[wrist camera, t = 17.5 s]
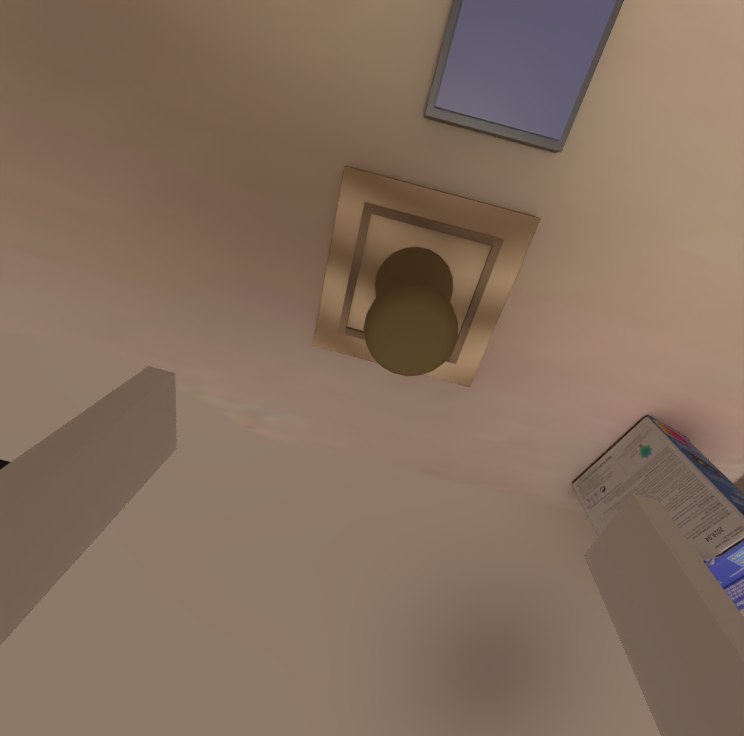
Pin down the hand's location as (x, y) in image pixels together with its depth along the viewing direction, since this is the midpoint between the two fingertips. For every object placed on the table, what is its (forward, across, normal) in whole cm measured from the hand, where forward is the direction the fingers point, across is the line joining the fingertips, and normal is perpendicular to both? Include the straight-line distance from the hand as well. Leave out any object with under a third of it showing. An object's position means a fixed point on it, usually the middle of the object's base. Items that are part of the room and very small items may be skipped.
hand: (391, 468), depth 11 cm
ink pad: (+22, +2, +15) cm, 27 cm away
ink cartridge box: (+22, +24, -11) cm, 35 cm away
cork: (+21, 0, 0) cm, 21 cm away
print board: (+22, 0, 0) cm, 22 cm away
